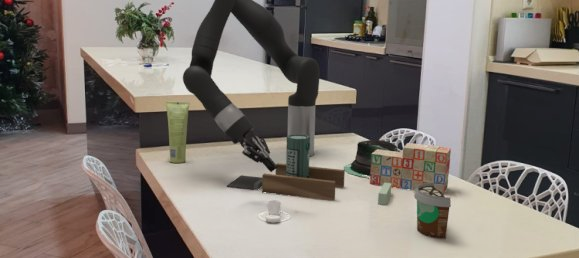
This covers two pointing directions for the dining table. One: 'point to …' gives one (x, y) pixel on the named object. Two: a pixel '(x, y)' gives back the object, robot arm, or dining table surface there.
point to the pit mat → (246, 183)
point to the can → (297, 155)
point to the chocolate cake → (367, 156)
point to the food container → (432, 211)
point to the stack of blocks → (411, 167)
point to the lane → (305, 183)
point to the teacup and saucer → (273, 212)
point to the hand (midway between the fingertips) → (274, 169)
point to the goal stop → (384, 193)
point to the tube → (177, 130)
